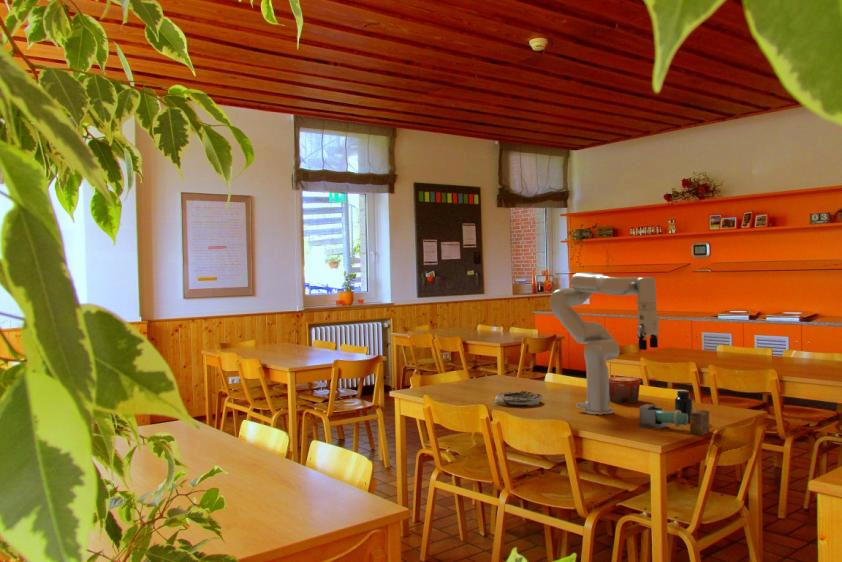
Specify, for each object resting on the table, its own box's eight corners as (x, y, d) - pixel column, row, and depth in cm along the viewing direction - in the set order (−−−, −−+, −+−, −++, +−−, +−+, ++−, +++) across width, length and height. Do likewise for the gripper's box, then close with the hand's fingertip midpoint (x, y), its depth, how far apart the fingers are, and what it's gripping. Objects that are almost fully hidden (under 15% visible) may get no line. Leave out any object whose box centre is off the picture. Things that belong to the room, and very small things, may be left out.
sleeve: (639, 426, 285) (639, 406, 284) (646, 423, 290) (646, 404, 290) (660, 429, 279) (659, 409, 279) (667, 426, 284) (666, 406, 284)
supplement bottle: (695, 421, 292) (695, 392, 291) (679, 422, 291) (679, 392, 291) (688, 418, 298) (687, 389, 298) (672, 418, 298) (671, 390, 298)
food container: (638, 398, 345) (638, 376, 344) (644, 404, 329) (643, 381, 329) (604, 398, 347) (604, 376, 347) (608, 404, 331) (608, 381, 331)
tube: (643, 423, 284) (642, 407, 284) (649, 421, 289) (649, 405, 289) (683, 429, 273) (682, 412, 273) (689, 426, 278) (689, 409, 278)
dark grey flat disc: (530, 396, 357) (530, 387, 357) (561, 407, 332) (561, 396, 332) (480, 402, 346) (480, 392, 346) (508, 413, 321) (508, 402, 321)
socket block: (690, 434, 271) (689, 413, 271) (698, 430, 277) (697, 409, 277) (701, 435, 268) (701, 414, 268) (709, 431, 274) (708, 411, 274)
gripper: (645, 308, 285) (647, 351, 285) (665, 305, 297) (666, 347, 298) (628, 308, 290) (630, 350, 290) (648, 306, 303) (649, 346, 303)
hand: (648, 348), depth 294 cm, fingers open, 9 cm apart
